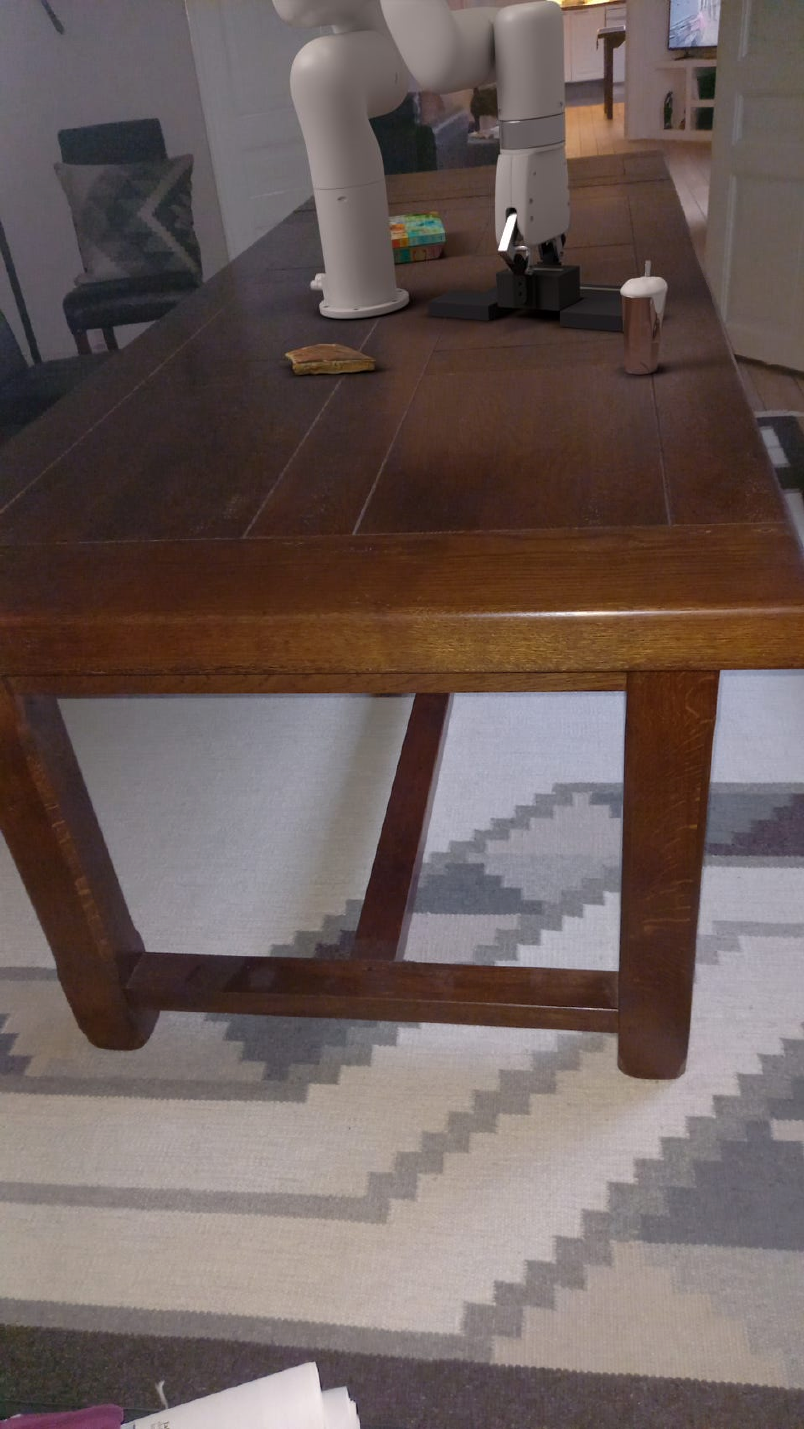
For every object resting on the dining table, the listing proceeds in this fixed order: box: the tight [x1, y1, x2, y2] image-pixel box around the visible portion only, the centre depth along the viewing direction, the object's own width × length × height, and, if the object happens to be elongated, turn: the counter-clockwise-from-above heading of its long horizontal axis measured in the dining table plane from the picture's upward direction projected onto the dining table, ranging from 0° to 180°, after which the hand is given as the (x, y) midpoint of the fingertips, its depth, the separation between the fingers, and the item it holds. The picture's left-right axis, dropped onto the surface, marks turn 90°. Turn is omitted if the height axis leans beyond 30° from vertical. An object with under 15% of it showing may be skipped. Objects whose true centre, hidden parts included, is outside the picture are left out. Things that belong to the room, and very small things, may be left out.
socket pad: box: [427, 283, 623, 333], centre depth 125 cm, size 30×12×2 cm, turn 52°
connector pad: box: [495, 263, 581, 312], centre depth 122 cm, size 9×5×4 cm, turn 52°
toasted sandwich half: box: [285, 342, 377, 376], centre depth 115 cm, size 11×8×2 cm
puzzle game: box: [389, 211, 447, 265], centre depth 165 cm, size 12×5×20 cm
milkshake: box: [620, 260, 668, 376], centre depth 100 cm, size 4×5×10 cm
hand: (537, 300), depth 123 cm, fingers closed on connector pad, 4 cm apart
